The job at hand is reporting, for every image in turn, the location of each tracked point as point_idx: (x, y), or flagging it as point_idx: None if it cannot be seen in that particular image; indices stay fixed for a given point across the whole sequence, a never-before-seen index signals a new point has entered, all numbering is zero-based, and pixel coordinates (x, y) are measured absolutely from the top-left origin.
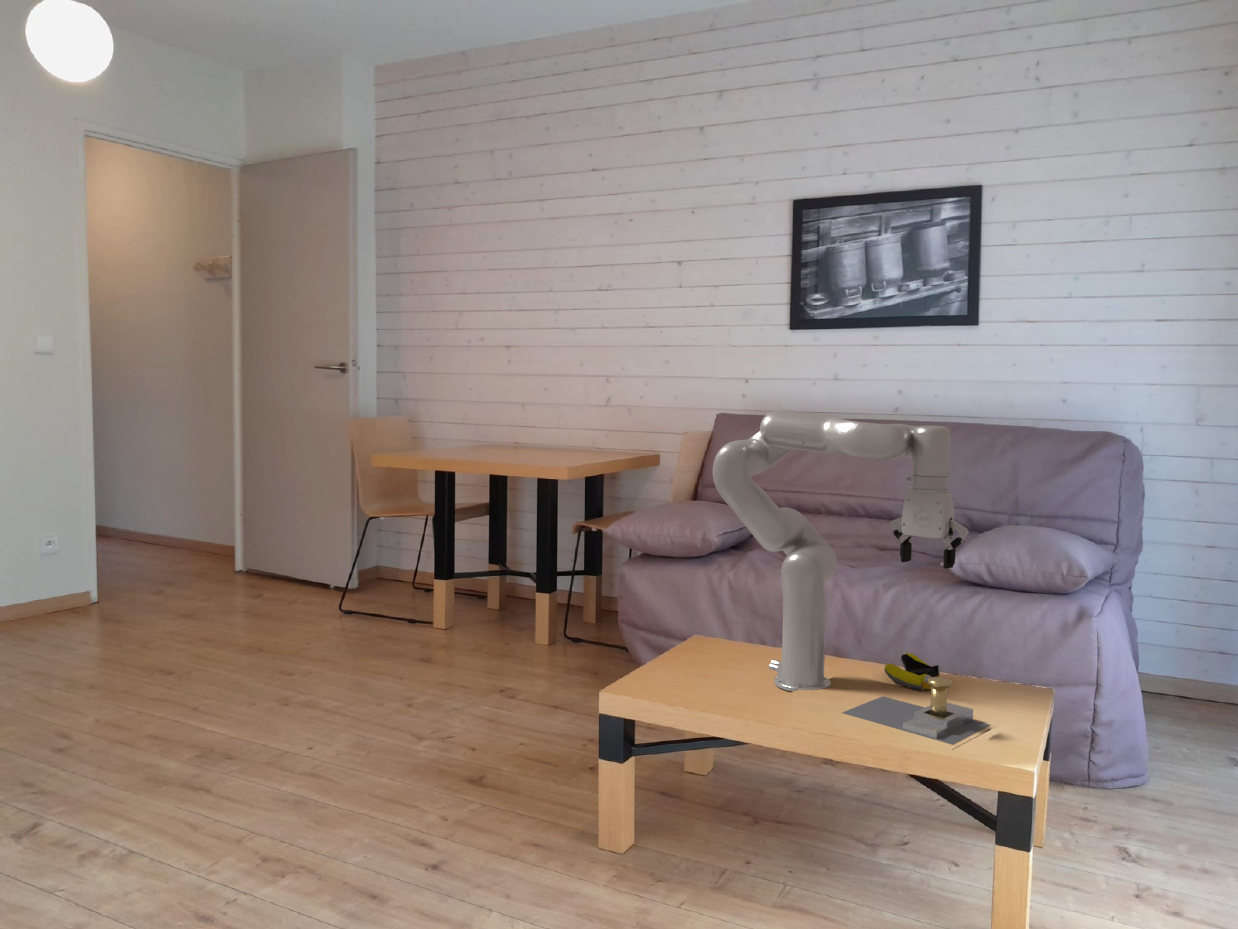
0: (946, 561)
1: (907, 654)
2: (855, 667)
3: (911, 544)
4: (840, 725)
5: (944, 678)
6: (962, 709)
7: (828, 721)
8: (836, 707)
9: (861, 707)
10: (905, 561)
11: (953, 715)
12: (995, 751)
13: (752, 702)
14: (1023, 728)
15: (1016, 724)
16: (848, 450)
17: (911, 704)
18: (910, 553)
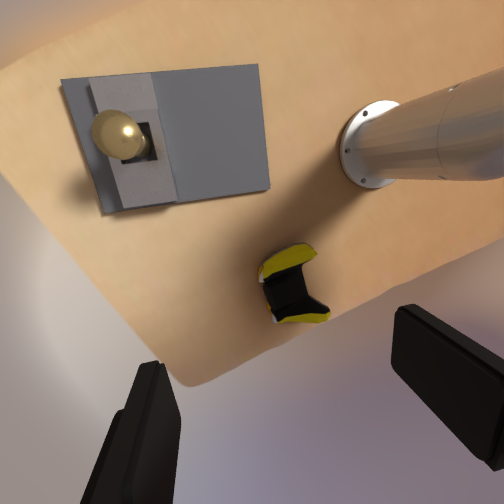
0: (129, 400)
1: (323, 314)
2: (370, 272)
3: (476, 454)
4: (234, 30)
5: (121, 155)
6: (130, 192)
7: (257, 30)
8: (290, 104)
9: (256, 115)
10: (395, 321)
11: None
12: (32, 136)
13: (382, 4)
14: (91, 254)
15: (108, 260)
16: None
17: (224, 193)
18: (422, 392)
